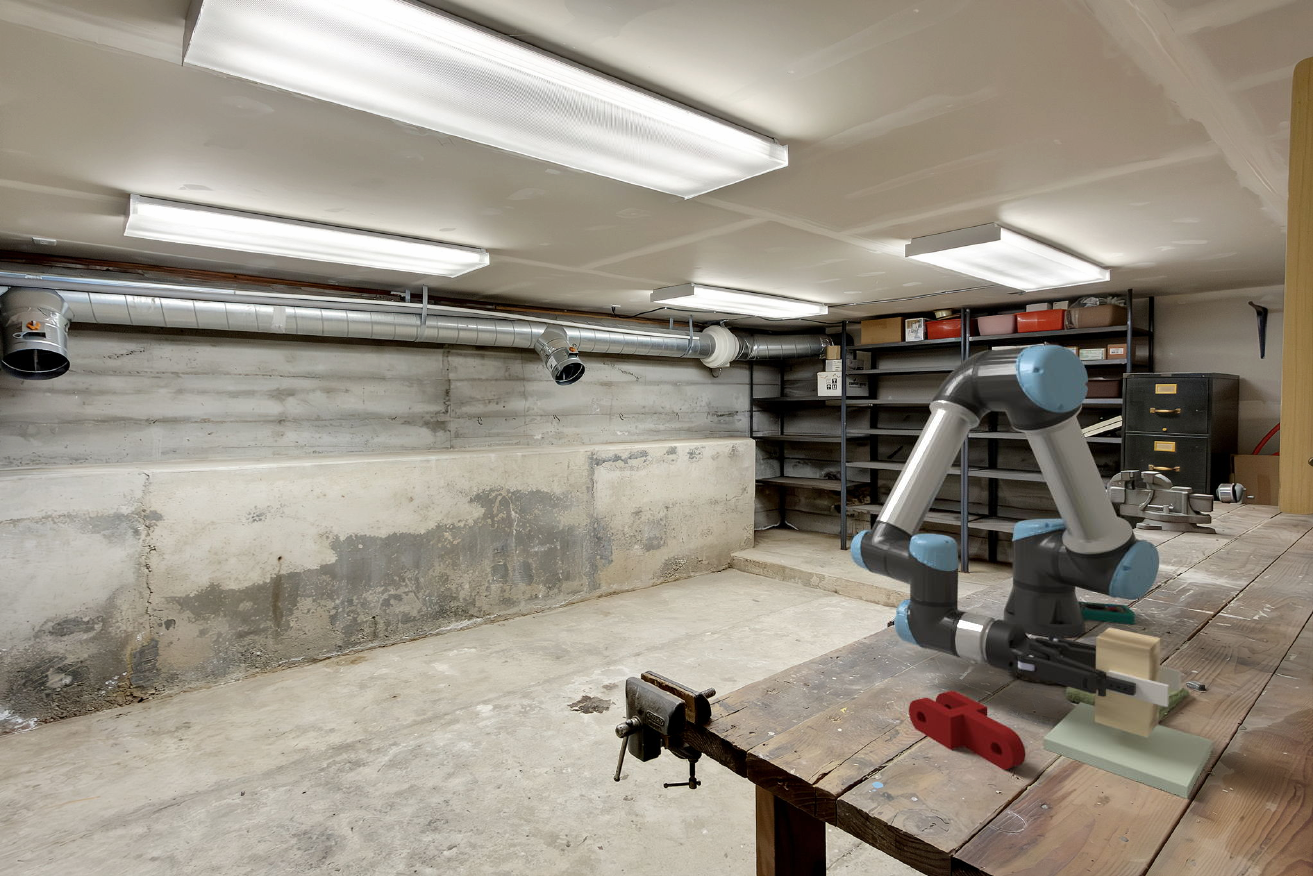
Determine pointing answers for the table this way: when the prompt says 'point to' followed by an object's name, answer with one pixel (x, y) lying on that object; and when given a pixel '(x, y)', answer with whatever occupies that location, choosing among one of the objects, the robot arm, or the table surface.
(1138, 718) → the beech block
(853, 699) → the table surface
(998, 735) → the mechanical linkage
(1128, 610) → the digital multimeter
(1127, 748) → the sage board
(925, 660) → the table surface
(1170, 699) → the washcloth
